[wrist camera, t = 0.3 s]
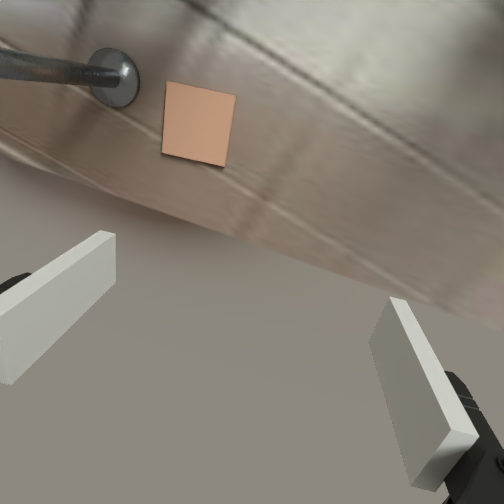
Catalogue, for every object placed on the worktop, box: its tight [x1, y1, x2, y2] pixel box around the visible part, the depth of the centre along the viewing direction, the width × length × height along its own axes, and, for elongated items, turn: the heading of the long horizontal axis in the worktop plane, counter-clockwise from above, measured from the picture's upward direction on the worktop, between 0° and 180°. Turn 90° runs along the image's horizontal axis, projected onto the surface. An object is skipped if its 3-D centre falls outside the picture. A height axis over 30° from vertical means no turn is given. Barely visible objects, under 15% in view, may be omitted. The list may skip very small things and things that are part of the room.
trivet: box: [162, 81, 237, 167], centre depth 38 cm, size 8×8×1 cm
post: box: [0, 47, 140, 107], centre depth 25 cm, size 6×6×27 cm
